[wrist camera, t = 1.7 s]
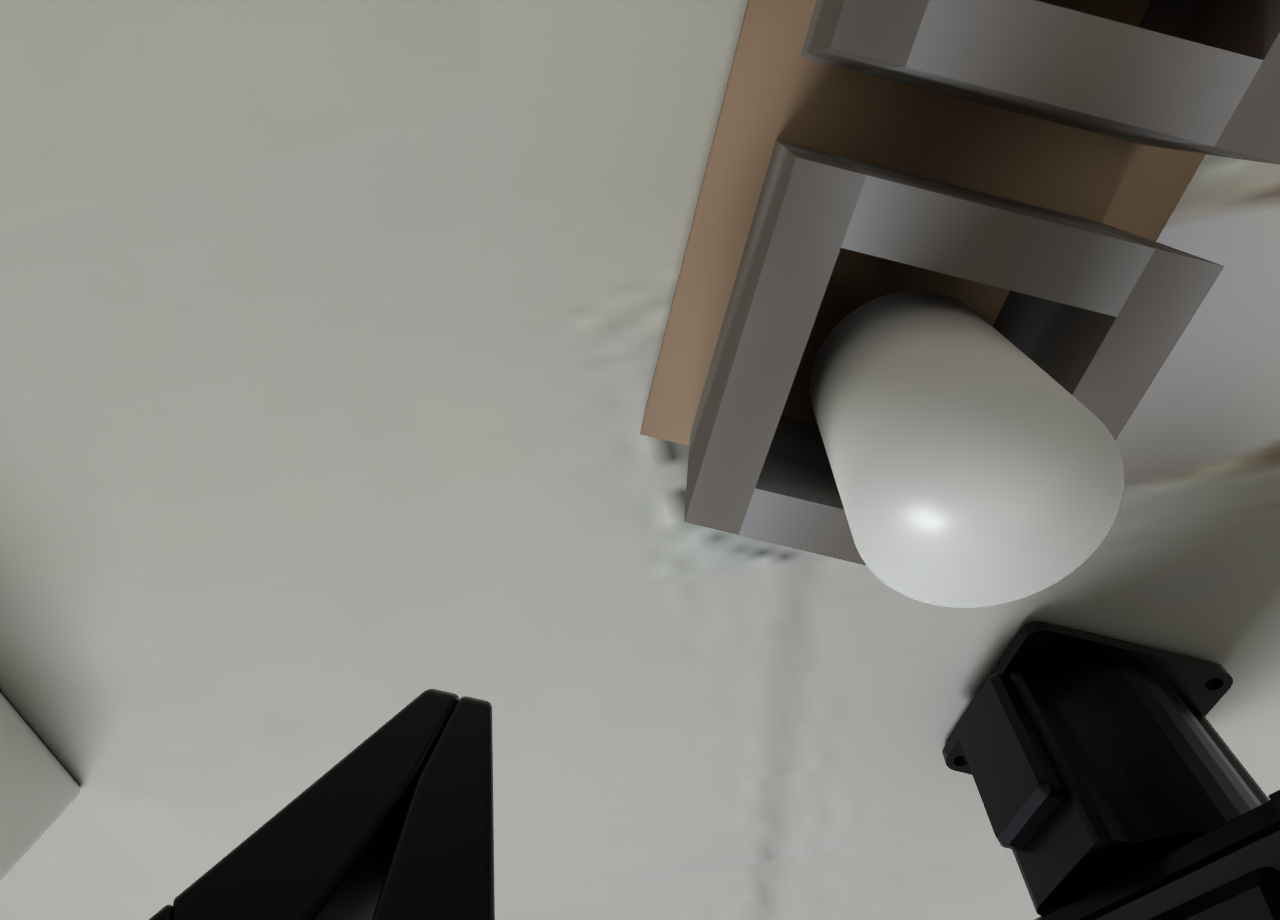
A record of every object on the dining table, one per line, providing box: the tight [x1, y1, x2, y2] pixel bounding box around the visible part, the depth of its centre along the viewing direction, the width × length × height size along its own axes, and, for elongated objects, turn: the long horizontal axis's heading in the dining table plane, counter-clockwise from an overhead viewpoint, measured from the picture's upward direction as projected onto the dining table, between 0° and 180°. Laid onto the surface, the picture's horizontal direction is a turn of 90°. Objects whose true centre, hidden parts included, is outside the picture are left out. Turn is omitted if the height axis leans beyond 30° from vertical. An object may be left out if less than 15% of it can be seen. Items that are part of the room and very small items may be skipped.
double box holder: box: [640, 0, 1280, 565], centre depth 13 cm, size 10×17×5 cm, turn 167°
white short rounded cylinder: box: [810, 291, 1125, 608], centre depth 13 cm, size 4×4×5 cm
